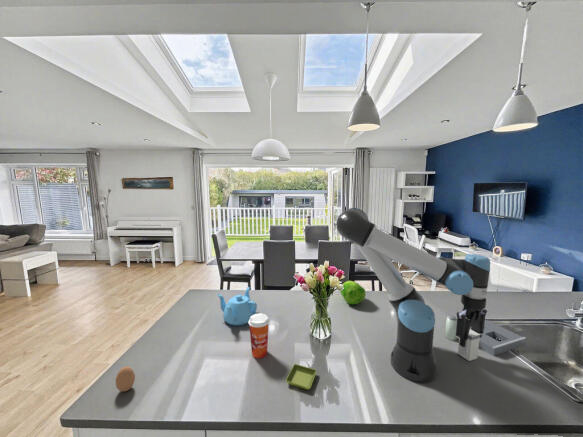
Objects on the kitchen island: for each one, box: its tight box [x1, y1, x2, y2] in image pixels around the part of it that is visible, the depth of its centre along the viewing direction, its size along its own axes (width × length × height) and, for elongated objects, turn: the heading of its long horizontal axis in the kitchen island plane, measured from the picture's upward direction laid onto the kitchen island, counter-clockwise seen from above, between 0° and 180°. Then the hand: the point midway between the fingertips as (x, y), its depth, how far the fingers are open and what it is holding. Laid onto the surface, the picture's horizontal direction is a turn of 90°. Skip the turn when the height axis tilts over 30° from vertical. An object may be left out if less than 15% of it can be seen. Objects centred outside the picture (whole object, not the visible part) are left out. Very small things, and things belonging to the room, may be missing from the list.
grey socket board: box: [470, 319, 527, 357], centre depth 106 cm, size 20×18×3 cm
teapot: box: [216, 286, 259, 327], centre depth 122 cm, size 17×19×12 cm
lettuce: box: [340, 280, 366, 306], centre depth 142 cm, size 14×20×12 cm
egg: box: [115, 366, 136, 393], centre depth 78 cm, size 5×5×8 cm
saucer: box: [285, 363, 318, 390], centre depth 83 cm, size 9×9×2 cm
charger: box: [457, 329, 480, 362], centre depth 94 cm, size 5×5×10 cm
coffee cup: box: [247, 313, 271, 359], centre depth 95 cm, size 8×8×15 cm
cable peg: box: [444, 315, 457, 341], centre depth 105 cm, size 4×4×10 cm
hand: (467, 351), depth 94 cm, fingers closed on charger, 4 cm apart
